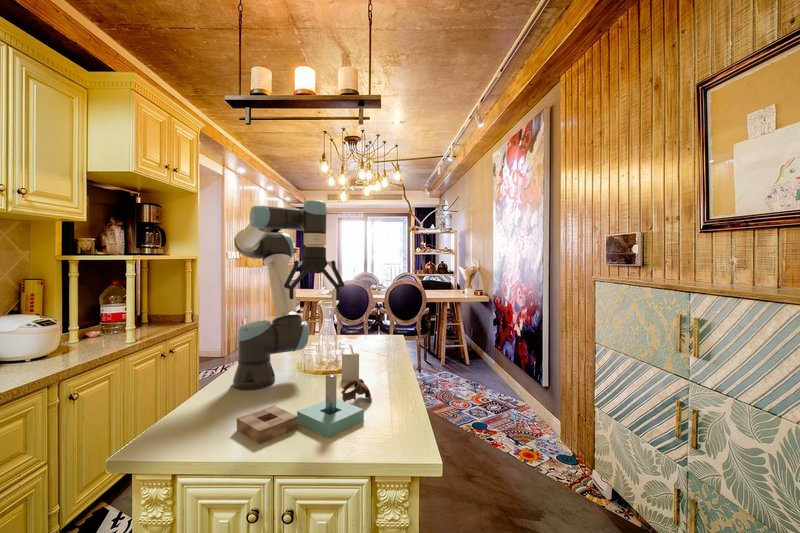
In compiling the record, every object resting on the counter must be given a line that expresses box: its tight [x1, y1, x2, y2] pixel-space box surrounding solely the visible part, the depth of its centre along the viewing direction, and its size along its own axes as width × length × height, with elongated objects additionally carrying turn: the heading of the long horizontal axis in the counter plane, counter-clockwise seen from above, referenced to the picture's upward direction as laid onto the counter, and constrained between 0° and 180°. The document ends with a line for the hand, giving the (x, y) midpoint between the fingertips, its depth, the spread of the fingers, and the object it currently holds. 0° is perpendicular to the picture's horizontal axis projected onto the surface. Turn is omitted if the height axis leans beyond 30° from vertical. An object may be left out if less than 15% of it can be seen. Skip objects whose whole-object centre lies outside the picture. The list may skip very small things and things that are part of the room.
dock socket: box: [296, 398, 365, 438], centre depth 115 cm, size 14×14×4 cm
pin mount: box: [236, 405, 299, 444], centre depth 110 cm, size 12×12×4 cm
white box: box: [341, 353, 360, 381], centre depth 154 cm, size 4×7×10 cm, turn 95°
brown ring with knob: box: [341, 378, 373, 404], centre depth 132 cm, size 12×10×8 cm
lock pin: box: [325, 373, 338, 415], centre depth 115 cm, size 3×3×14 cm
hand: (314, 308), depth 131 cm, fingers open, 13 cm apart
